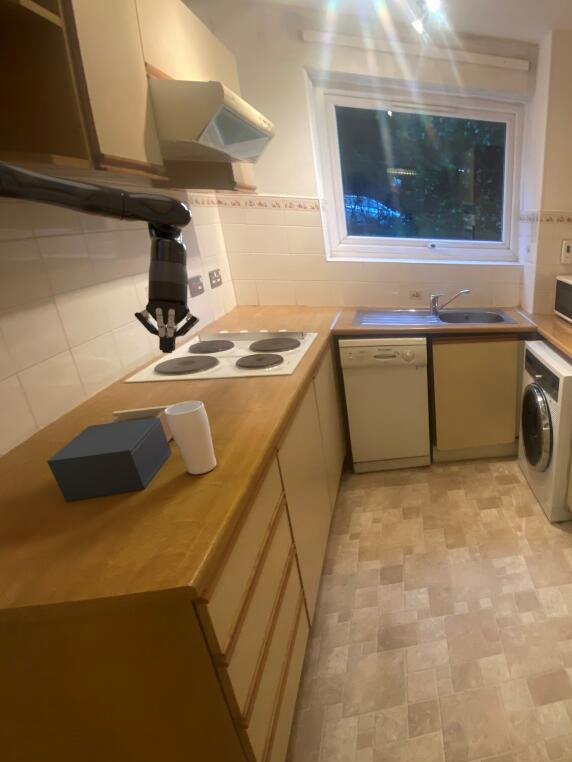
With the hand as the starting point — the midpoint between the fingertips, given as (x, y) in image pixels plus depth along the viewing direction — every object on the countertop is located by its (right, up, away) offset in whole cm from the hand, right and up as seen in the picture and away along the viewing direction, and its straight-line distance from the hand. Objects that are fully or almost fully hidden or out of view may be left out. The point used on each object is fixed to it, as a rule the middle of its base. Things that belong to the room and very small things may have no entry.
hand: (167, 352), depth 106 cm
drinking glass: (+17, -27, -11) cm, 33 cm away
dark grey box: (+2, -27, -14) cm, 31 cm away
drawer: (-2, -22, -4) cm, 22 cm away
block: (-2, -21, -5) cm, 22 cm away
